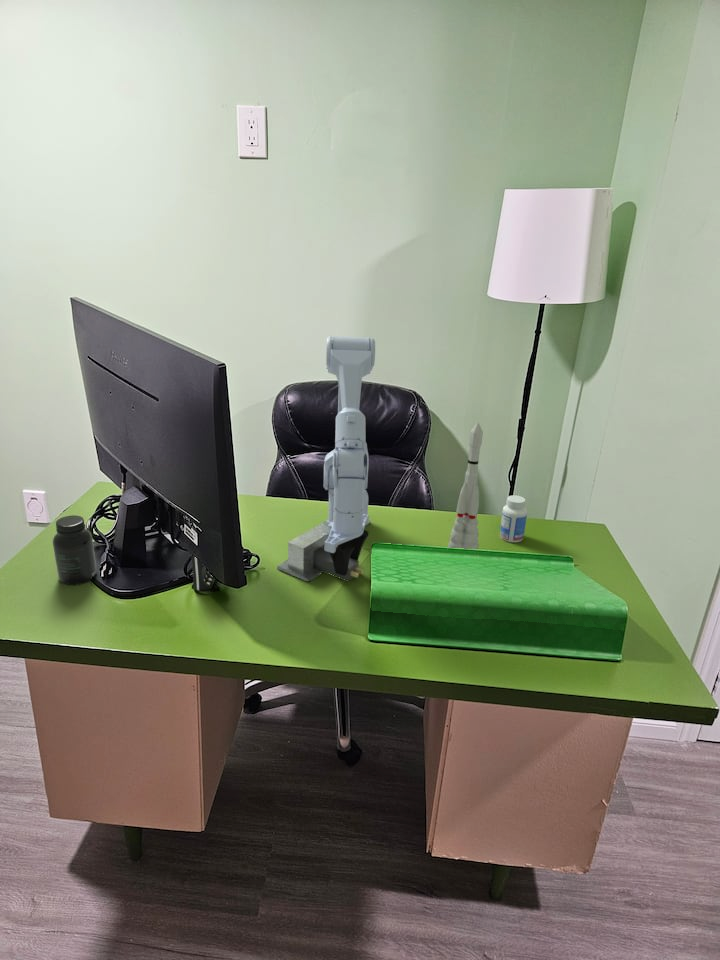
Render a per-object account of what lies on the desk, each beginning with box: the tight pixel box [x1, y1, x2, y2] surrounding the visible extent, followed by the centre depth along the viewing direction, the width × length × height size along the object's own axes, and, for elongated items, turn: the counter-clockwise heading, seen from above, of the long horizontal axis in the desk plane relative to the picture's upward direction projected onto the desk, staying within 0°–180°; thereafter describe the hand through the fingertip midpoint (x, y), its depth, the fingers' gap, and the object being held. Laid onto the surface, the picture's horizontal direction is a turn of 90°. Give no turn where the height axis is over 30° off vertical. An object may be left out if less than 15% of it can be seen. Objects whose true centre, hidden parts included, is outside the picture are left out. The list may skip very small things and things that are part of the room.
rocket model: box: [447, 422, 484, 550], centre depth 130 cm, size 7×7×30 cm
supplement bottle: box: [52, 514, 97, 586], centre depth 120 cm, size 7×7×12 cm
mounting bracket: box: [276, 520, 331, 582], centre depth 130 cm, size 14×8×6 cm, turn 145°
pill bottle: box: [499, 494, 528, 543], centre depth 143 cm, size 6×5×10 cm
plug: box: [314, 548, 364, 582], centre depth 128 cm, size 4×16×3 cm, turn 58°
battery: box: [190, 554, 216, 591], centre depth 120 cm, size 7×4×11 cm, turn 177°
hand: (346, 568), depth 126 cm, fingers closed on plug, 4 cm apart
